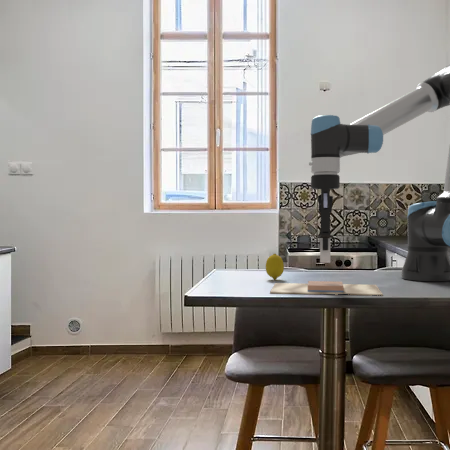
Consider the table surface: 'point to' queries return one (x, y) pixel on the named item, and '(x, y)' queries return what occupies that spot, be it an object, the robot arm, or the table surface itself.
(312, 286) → the tile
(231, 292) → the table surface
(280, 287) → the board
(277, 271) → the lemon
